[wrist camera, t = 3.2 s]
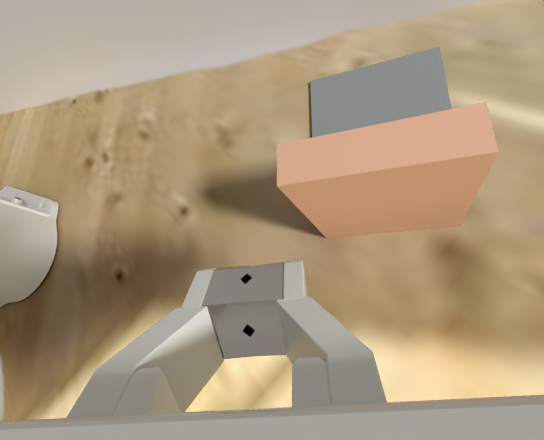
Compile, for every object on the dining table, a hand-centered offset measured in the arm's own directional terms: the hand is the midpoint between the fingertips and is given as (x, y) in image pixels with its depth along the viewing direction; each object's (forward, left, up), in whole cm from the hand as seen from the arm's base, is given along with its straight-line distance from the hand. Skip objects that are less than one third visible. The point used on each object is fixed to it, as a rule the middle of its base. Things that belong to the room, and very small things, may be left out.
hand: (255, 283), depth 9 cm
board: (-2, +9, -23) cm, 25 cm away
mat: (-7, +18, -23) cm, 30 cm away
